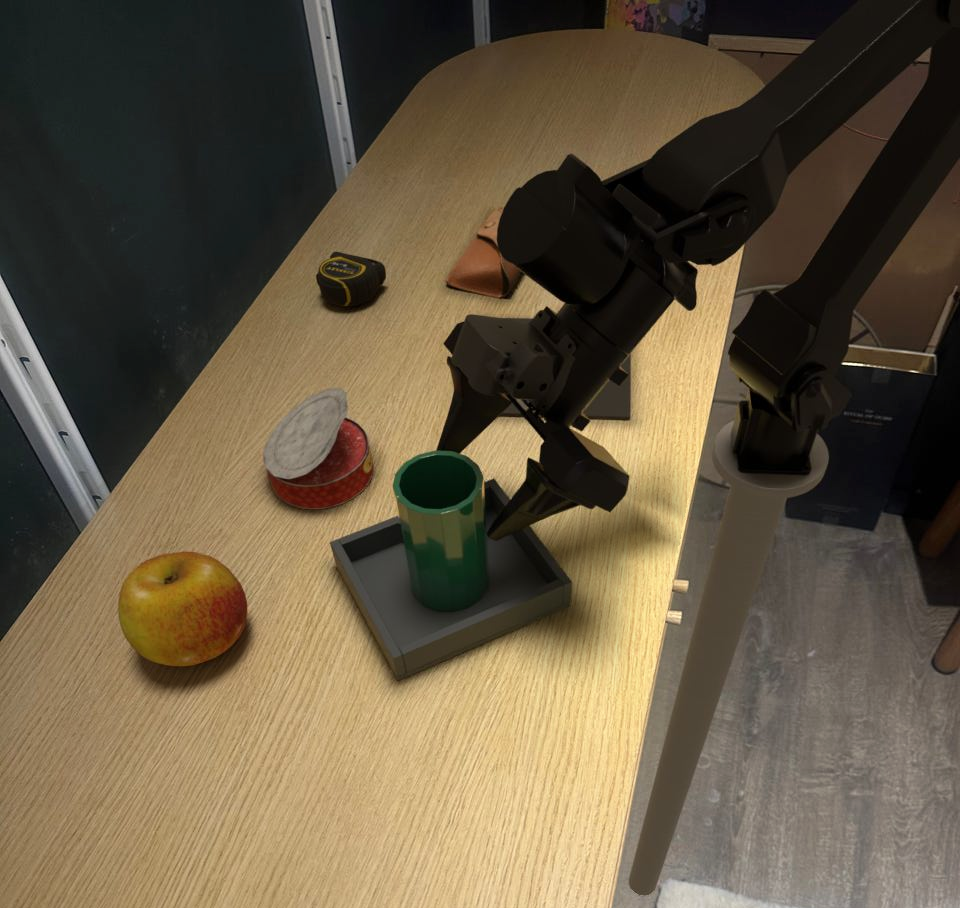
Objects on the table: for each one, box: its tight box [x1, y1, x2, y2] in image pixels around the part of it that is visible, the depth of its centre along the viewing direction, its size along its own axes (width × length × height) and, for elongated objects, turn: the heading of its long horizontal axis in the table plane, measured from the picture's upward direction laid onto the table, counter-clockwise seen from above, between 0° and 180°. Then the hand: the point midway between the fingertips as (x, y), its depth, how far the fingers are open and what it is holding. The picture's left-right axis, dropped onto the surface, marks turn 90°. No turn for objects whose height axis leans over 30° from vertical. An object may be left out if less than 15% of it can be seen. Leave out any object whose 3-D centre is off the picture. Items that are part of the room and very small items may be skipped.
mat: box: [499, 317, 632, 421], centre depth 89 cm, size 16×16×1 cm
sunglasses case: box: [444, 206, 522, 299], centre depth 101 cm, size 18×7×7 cm, turn 161°
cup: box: [392, 450, 490, 612], centre depth 67 cm, size 7×7×12 cm
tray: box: [329, 478, 573, 682], centre depth 71 cm, size 16×14×3 cm
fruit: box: [117, 551, 248, 667], centre depth 67 cm, size 10×9×8 cm
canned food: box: [262, 386, 375, 510], centre depth 79 cm, size 11×10×10 cm
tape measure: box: [315, 251, 387, 307], centre depth 97 cm, size 7×7×4 cm
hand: (463, 499), depth 65 cm, fingers open, 9 cm apart
